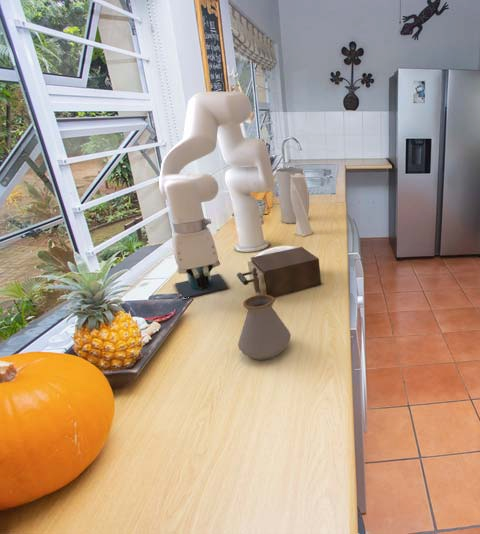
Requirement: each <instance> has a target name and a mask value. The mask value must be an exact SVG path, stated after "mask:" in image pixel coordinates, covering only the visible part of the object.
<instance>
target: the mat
mask: <svg viewBox="0 0 480 534" xmlns="http://www.w3.org/2000/svg"><path fill="white" fill-rule="evenodd" d="M210 275H211V274H210ZM211 279H212V285H211V286H209V287H208V289H207V290H206V289H205V288H204V289H205V290H203V291H202V290H201V289H198V290H195V289H191V288H190V286H189V281H188V280H184V281H180V282H176V283H175V287H176V289H177V292H178V294H181V295H182V296H183V297H184V298H188V297H189V298H188V299H192V298H197V297H200V296H204V295H208V294H212V293H217V292H221V291H224V290H228V289H229V286H228V285H227V283H225V281H224V279H223V278H222V277H221V275H220V274H219V273H215V274H212V275H211Z"/></svg>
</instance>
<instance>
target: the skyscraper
mask: <svg viewBox="0 0 480 534" xmlns="http://www.w3.org/2000/svg"><path fill="white" fill-rule="evenodd" d="M308 187H309V186H308V184H307V180H306V176H305V170H304V169H303V175H301V174H300V173H297V174H294V175H292V174H291V201H292V206H293V210H294V213H295V216H296V223H295V235H297V236H302V237H306V236H309V235H312V234H314V233H313V232H314V231H313V229H312V227H311V223H310V220H309V219H310V218H309V212H310V195H309V194H310V193H309V192H310V191H309V188H308Z"/></svg>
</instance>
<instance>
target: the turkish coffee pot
mask: <svg viewBox="0 0 480 534" xmlns="http://www.w3.org/2000/svg"><path fill="white" fill-rule="evenodd" d="M252 270H253V273H251V274H253V277H254V281H253V282H254V285H253V286H254V291H255V295H253V296H249V297H248V298H246V299H244V301H243V302H242V306H243V307H244V309H246V311H247V313H246V316H245V319H244V323H243V326H242V328H241V333H240V335H239V340H238V343H237V346H238V350H239V351H240V352H241V353H242V354H243V355H245V356H247V357H248V358H252V359H254V360H258V361H265V360H270V359H273V358H275V357H277V356H279V355H280V354H281V353H283V351H284V350H285V349H286V348H287V347H288V345H289V344H290V342H291V337H292V335H291V332H290V331H289V329H288V328H287V326H286V325H285V323H284V322H283V320H282V319H281V318H280V317H279V314H277V312H276V310H274V308H273V305H274V302H275V301H276V297H272V296H270V295H262V294H261V293H260V291H259V280H258V277H257V276H258V273H259V272H260V270H259V269H257V270H259V272H258V273H256V272H257V271H256V268H253V269H252ZM252 270H251V271H252Z"/></svg>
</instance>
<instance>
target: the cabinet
mask: <svg viewBox="0 0 480 534" xmlns="http://www.w3.org/2000/svg"><path fill="white" fill-rule="evenodd" d="M255 256H256V255H255ZM255 256H252V257H250V261H252V262H253V263H254V264H255V265H256V266H257V267H258V268H259V269H260V270H261V271H262V272H263V273H264V276H265V282H266V291H267V295H270V296H272V297H274V298H276V297H280V296H284V295H289V294H291V293H294V292H298V291H302V290H305V289H310V288H312V287H317V286H320V285H322V278H321V277H322V276H321V269H320V268H321V267H320V258H319V257H317V256H315V255H314V254H313V253H311V252H310V251H308V250H307V249H306V248H304V247H303V246H299V247H298V248H294V249H289V250H284V251H280V252H275V253H270V254H265V255H261V256H256V257H255Z"/></svg>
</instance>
